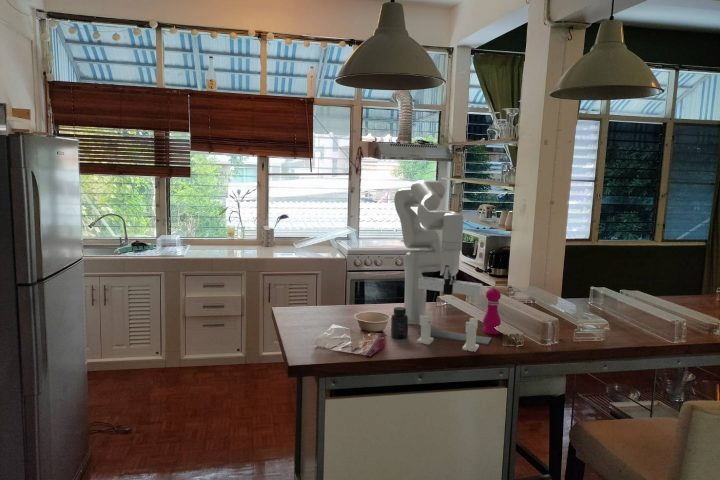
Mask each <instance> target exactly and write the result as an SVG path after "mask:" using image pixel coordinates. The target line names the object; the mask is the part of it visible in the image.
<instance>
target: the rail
mask: <svg viewBox="0 0 720 480" xmlns="http://www.w3.org/2000/svg"><path fill="white" fill-rule="evenodd" d="M418 288H419V289H426V291H427V290H428V291H434V292H435V291H437V292H442V293H443V291H444V278H439V277H432V276H431V277H429V276H424V275H422V276H421V277H420V278H418ZM482 293H483V283H480V282H479V283H478V282H472V281H463V280H457V279H456V280H452V294H458V295H467V296H473V297H474V296H475V297H481V295H482Z"/></svg>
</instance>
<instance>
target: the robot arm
mask: <svg viewBox="0 0 720 480" xmlns="http://www.w3.org/2000/svg"><path fill="white" fill-rule="evenodd" d="M445 192H446V188H445V186H444V184H443V183H442V182H441V181H440V180H434V179H433V180H431V179H430V180H428V179H427V180H425V179H421V180H417V181H415V182H413V183H412V184H411V186H410V187H405V188H400V189H398V190H397V191H396V192H395V194H394V197H393V199H394V200H393V201H394V208H395V212H396V213H397V215H398V217H399V221H400V227H401V233H402V239H403V243H404V246H405V247H406V249H408V250H409V249H410V250H412V251H408V252H406V253H405V254H404V256H403V268H404V304H403V305H404V306H403V308H406V313H405V314H406V315H407V316H408V325H418V326H420V316H425V312H427V311H426V310H427V309H426V307H427V306H426V305H427V290H426V289H419V288H418V278H420V277H421V276H423V273H430V272H431V273H435V272H440V274H439V275H440V276H441V277H443V279H444V291H443V292H442V293H443V294H444V295H449V296H452V295H453V293H452V280H456V281H457V274H458V273H459V269H460V252H461V251H462V247H463V231H464V230H463V229H464V216H463V214H461V213H459V212H458V213H457V212H456V211H454V210H437V209H438V208H439V207H440V206H441V200H442V199H444V196H445V194H446V193H445ZM412 208H417V210H416V211H417V213H416V211H414V210H413V209H412ZM438 231H442V233H441V235H442V236H441V239H440V236H439V233H438ZM422 249H423V250H422ZM425 249H426V250H425Z"/></svg>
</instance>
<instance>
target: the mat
mask: <svg viewBox="0 0 720 480" xmlns="http://www.w3.org/2000/svg"><path fill="white" fill-rule="evenodd" d="M466 334H467V333H461V332H453V331H448V330H439V329H435V328H431V332H430V337H432V338H437V339H439V338H440V339H445V340H452V341H457V342H464V343H466ZM418 336H421V331H420V332H419V333H418ZM492 339H493V338H492V337H489V336H480V335H476V344H478V345H485V346H488V345H489V344H490V342H491V340H492Z"/></svg>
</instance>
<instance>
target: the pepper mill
mask: <svg viewBox="0 0 720 480" xmlns="http://www.w3.org/2000/svg"><path fill="white" fill-rule="evenodd" d="M501 296H502V294H501V292H500V290H498V289H497V287H496V285H494V284H493V285H492V286H491V288H489V289H488V290H487V291H486V292H485V297H486V299H487V300H486V304H487V310H486V313H485V314H484V316H483V320H482V323H483V325H484V327H483V332H484V333H485V334H488V335H498V334H499V333H500V331H499V332H498V331H497V330H496V329H495V328H494V327H496V326H499V325H501V324H502V323H501V317H500V314H499V312H498V311H499V310H498V307H499V304H500V301H499V300H500V299H501ZM499 327H500V326H499Z"/></svg>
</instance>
